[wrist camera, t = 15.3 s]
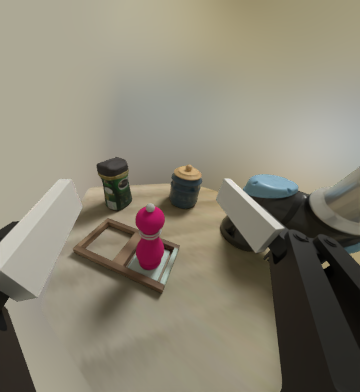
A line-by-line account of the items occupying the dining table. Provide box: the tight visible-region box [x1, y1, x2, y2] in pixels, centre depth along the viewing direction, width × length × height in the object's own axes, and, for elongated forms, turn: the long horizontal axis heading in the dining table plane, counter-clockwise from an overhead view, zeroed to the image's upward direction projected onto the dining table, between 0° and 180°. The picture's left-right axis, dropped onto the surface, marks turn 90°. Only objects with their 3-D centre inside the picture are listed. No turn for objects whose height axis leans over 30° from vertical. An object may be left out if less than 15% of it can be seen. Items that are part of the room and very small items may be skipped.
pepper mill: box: [136, 203, 165, 270], centre depth 31 cm, size 7×7×20 cm
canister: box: [169, 165, 202, 208], centre depth 57 cm, size 13×13×18 cm
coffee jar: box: [97, 157, 132, 210], centre depth 49 cm, size 10×8×19 cm
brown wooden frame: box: [73, 218, 180, 293], centre depth 38 cm, size 12×26×2 cm, turn 72°
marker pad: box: [127, 249, 170, 281], centre depth 37 cm, size 9×9×1 cm
